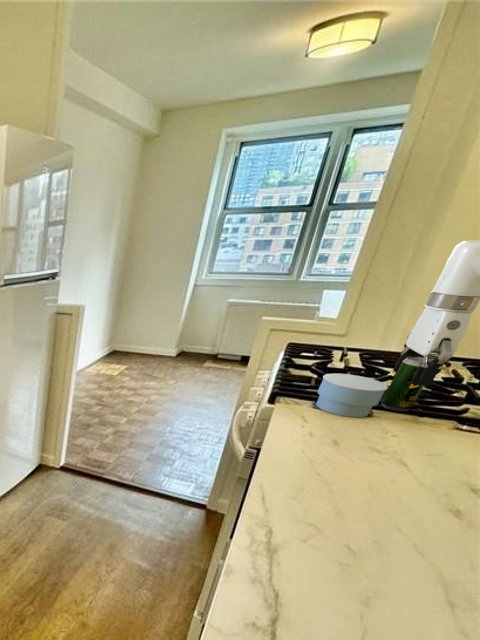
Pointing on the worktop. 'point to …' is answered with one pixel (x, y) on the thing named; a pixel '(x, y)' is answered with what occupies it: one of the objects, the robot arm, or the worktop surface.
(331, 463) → the worktop surface
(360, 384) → the yogurt tub
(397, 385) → the beer can
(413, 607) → the worktop surface
